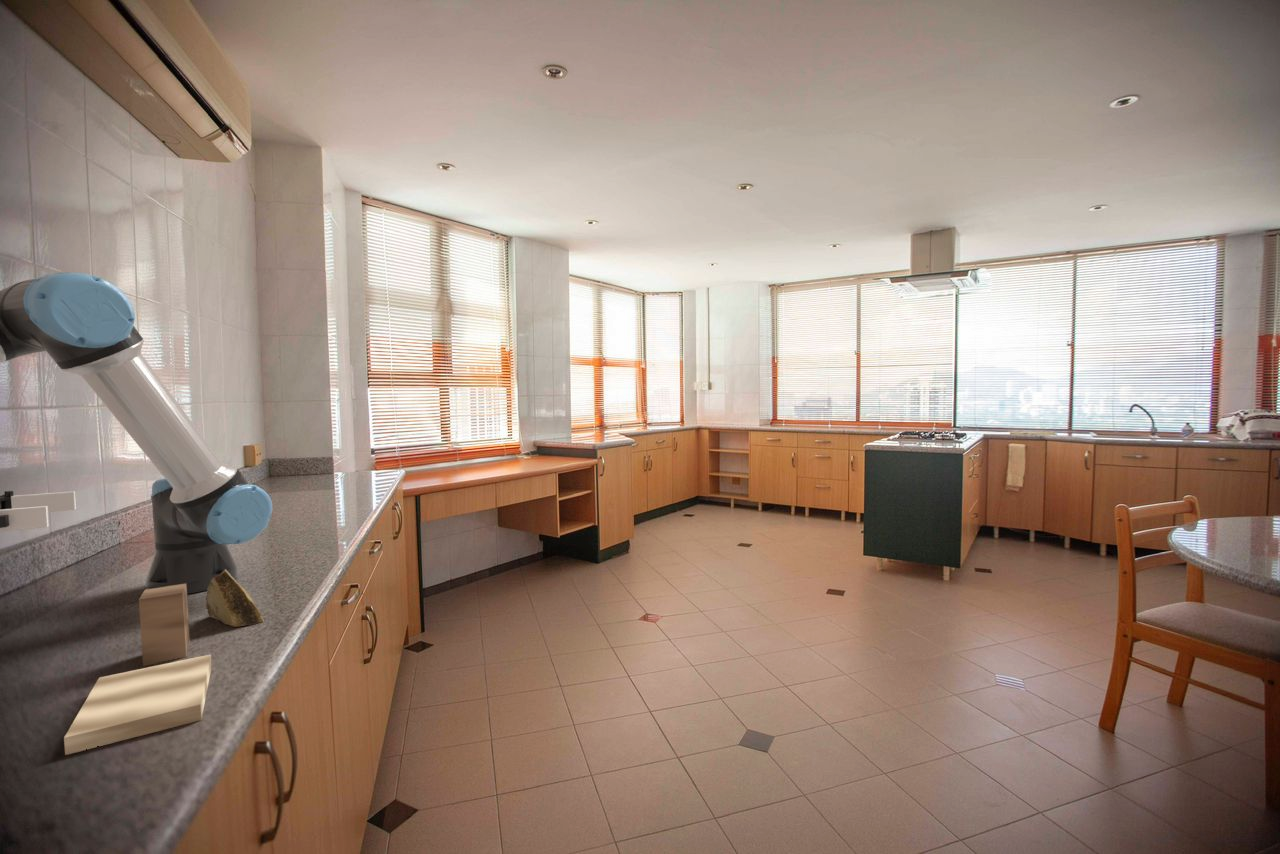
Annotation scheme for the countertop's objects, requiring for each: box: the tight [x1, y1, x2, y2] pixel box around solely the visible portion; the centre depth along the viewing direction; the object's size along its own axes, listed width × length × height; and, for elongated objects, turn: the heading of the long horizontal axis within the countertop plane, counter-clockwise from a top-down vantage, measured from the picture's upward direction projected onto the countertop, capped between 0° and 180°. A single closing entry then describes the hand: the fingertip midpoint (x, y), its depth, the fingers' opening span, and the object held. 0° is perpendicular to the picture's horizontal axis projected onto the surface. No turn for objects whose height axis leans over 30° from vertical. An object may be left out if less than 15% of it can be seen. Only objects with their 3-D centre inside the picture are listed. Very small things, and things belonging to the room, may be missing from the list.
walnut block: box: [138, 584, 191, 667], centre depth 87 cm, size 5×5×10 cm
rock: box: [205, 569, 265, 628], centre depth 101 cm, size 11×9×10 cm
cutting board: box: [63, 653, 213, 756], centre depth 73 cm, size 16×12×2 cm
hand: (62, 507), depth 80 cm, fingers open, 13 cm apart
